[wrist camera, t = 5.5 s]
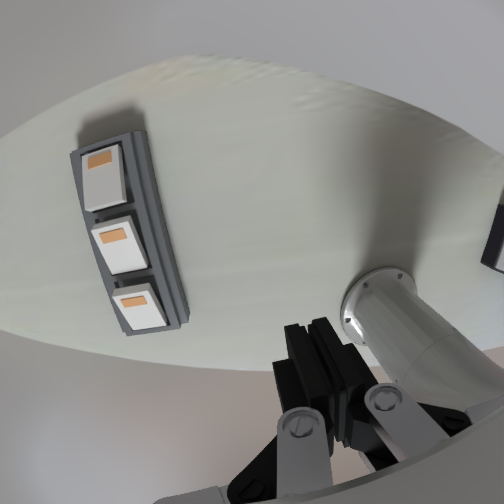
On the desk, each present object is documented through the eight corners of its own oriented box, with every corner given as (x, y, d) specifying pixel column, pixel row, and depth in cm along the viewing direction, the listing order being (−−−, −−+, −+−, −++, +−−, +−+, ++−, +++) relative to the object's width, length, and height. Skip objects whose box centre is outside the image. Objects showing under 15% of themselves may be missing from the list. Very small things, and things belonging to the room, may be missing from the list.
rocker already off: (166, 317, 35) (166, 326, 34) (134, 322, 35) (133, 331, 34) (149, 282, 31) (148, 291, 30) (114, 289, 31) (111, 297, 30)
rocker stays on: (126, 201, 28) (121, 199, 27) (90, 211, 28) (84, 209, 27) (121, 148, 28) (117, 143, 27) (86, 159, 28) (81, 155, 27)
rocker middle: (148, 260, 32) (147, 268, 31) (114, 267, 32) (111, 275, 31) (130, 215, 29) (127, 221, 28) (94, 224, 29) (90, 231, 28)
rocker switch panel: (189, 312, 38) (187, 327, 35) (127, 322, 38) (120, 336, 35) (146, 131, 31) (137, 129, 27) (78, 153, 30) (65, 154, 27)
